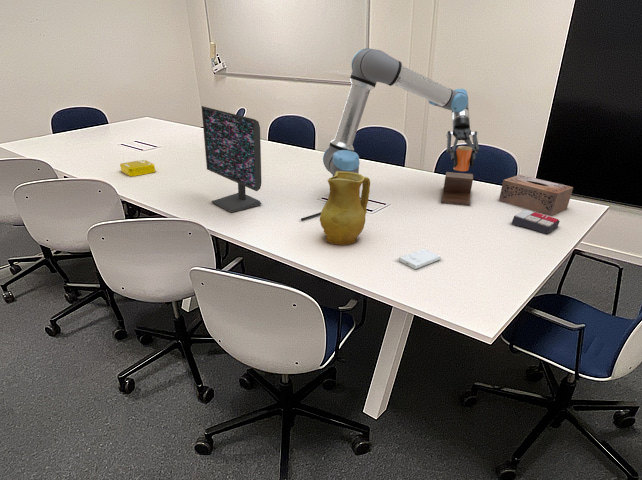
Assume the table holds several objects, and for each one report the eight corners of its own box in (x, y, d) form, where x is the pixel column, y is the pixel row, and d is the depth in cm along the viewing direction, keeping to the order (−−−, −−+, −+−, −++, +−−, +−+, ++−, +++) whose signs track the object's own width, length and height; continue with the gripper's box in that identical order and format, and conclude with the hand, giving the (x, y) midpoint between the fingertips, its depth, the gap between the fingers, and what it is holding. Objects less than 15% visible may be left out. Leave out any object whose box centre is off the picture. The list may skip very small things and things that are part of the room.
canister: (468, 171, 202) (472, 149, 197) (453, 170, 203) (456, 148, 198) (468, 168, 207) (472, 146, 202) (453, 166, 209) (457, 145, 204)
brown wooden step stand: (469, 205, 206) (473, 187, 202) (441, 203, 209) (443, 185, 205) (469, 190, 226) (473, 174, 221) (443, 188, 229) (446, 171, 224)
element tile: (120, 171, 253) (118, 162, 250) (145, 166, 261) (144, 158, 259) (130, 177, 243) (128, 168, 241) (156, 172, 252) (155, 163, 249)
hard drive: (440, 260, 157) (415, 269, 151) (422, 252, 163) (398, 260, 157) (440, 256, 157) (416, 265, 150) (423, 248, 162) (398, 256, 156)
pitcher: (317, 229, 180) (320, 167, 166) (362, 230, 182) (370, 169, 168) (319, 248, 166) (324, 182, 152) (369, 249, 167) (378, 184, 154)
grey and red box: (550, 226, 176) (514, 214, 184) (546, 235, 178) (511, 224, 187) (560, 218, 182) (525, 208, 191) (557, 228, 185) (522, 217, 193)
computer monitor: (198, 196, 216) (186, 107, 195) (227, 189, 225) (219, 104, 204) (246, 221, 188) (238, 121, 167) (277, 213, 197) (273, 116, 176)
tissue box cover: (566, 208, 203) (573, 187, 198) (551, 215, 196) (557, 193, 190) (514, 194, 220) (519, 174, 215) (498, 200, 213) (503, 179, 207)
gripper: (479, 126, 210) (482, 170, 205) (437, 126, 210) (439, 170, 205) (485, 116, 203) (488, 161, 197) (441, 116, 203) (444, 161, 198)
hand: (463, 165), depth 201 cm, fingers closed on canister, 7 cm apart
